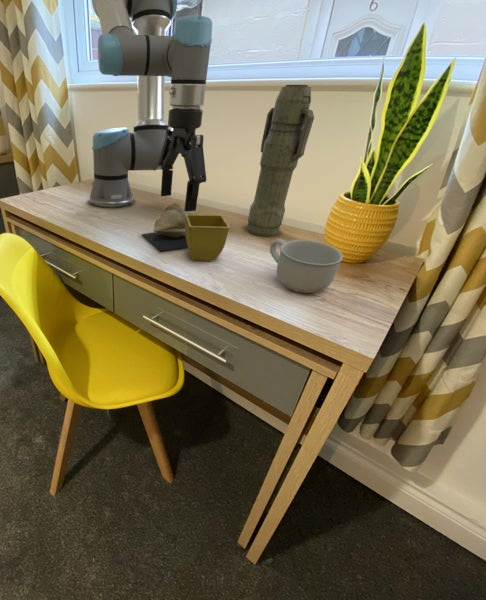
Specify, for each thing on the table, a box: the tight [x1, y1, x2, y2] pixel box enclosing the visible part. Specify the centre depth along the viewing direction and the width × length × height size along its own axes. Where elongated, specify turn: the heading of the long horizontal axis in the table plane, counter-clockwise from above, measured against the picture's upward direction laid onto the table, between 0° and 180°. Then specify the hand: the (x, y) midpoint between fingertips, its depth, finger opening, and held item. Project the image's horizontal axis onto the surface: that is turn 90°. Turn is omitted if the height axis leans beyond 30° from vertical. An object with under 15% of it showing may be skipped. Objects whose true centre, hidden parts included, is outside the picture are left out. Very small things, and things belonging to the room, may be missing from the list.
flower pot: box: [185, 214, 231, 262], centre depth 77 cm, size 9×9×9 cm
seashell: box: [152, 202, 201, 238], centre depth 88 cm, size 14×9×10 cm
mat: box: [141, 232, 189, 253], centre depth 88 cm, size 12×16×1 cm
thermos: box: [246, 84, 315, 237], centre depth 85 cm, size 9×12×35 cm
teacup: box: [269, 238, 344, 294], centre depth 66 cm, size 14×11×8 cm
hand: (177, 202), depth 85 cm, fingers open, 13 cm apart
